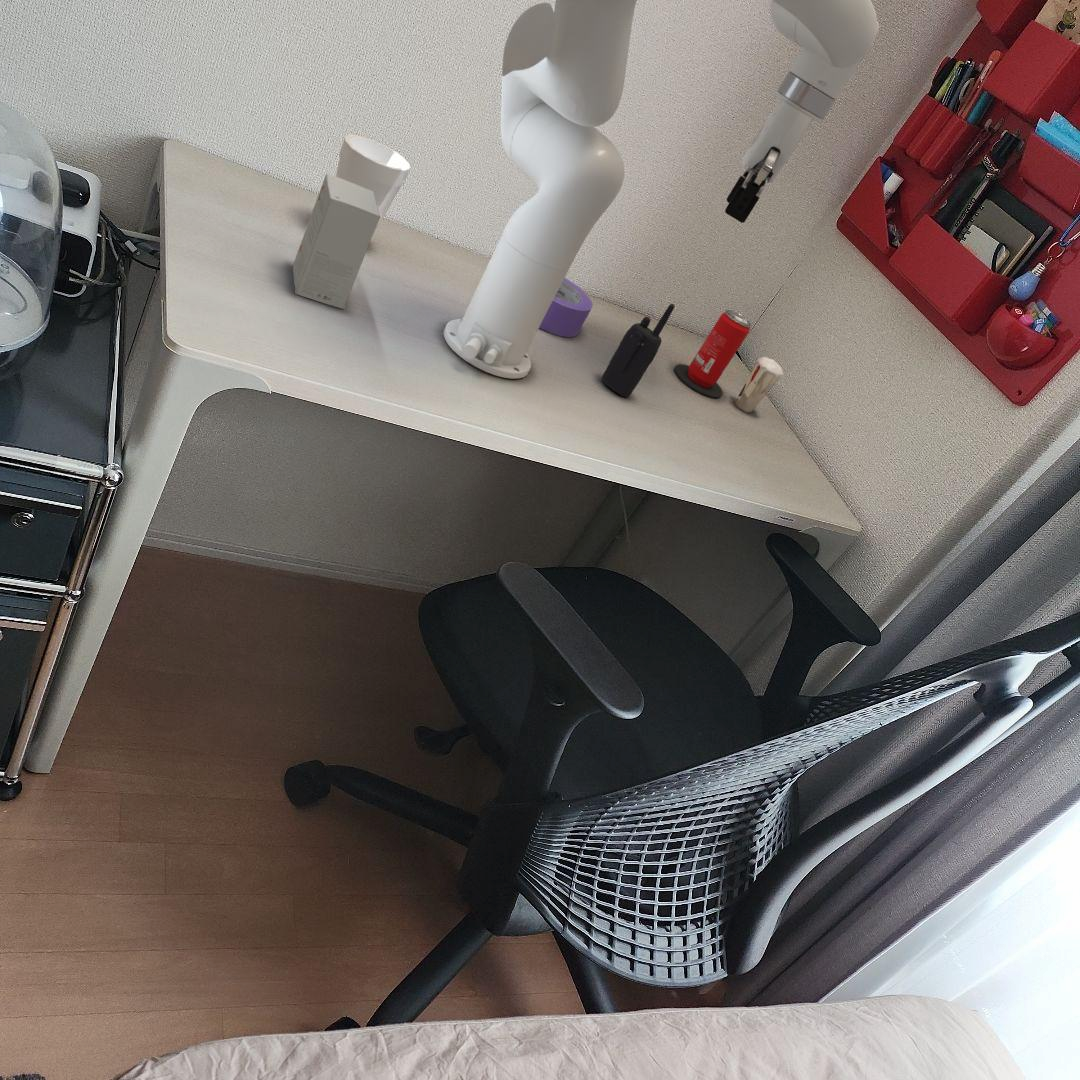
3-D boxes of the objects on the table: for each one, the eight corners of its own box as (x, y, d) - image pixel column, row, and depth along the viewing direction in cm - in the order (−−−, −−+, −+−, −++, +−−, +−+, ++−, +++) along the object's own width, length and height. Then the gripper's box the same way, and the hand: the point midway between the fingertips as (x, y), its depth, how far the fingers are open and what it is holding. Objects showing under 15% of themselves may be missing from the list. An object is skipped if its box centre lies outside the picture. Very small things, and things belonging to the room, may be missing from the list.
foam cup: (388, 252, 147) (422, 170, 140) (350, 257, 139) (384, 170, 132) (340, 218, 149) (371, 135, 142) (300, 221, 141) (331, 133, 134)
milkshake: (759, 421, 164) (794, 371, 159) (731, 406, 164) (765, 355, 158) (758, 410, 168) (792, 361, 163) (730, 395, 167) (764, 345, 162)
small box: (343, 310, 125) (381, 216, 119) (294, 294, 123) (329, 197, 116) (339, 281, 131) (374, 190, 125) (291, 265, 129) (325, 171, 122)
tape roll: (567, 345, 151) (583, 316, 149) (501, 305, 151) (515, 276, 149) (585, 325, 161) (600, 298, 159) (523, 288, 161) (536, 260, 159)
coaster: (720, 405, 162) (721, 403, 161) (671, 378, 161) (673, 376, 161) (722, 385, 169) (723, 384, 169) (676, 359, 169) (677, 357, 168)
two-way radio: (634, 398, 147) (686, 310, 139) (618, 401, 144) (672, 311, 136) (606, 376, 149) (657, 288, 141) (591, 378, 145) (642, 289, 138)
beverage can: (682, 367, 166) (720, 304, 160) (708, 378, 168) (747, 316, 162) (689, 382, 162) (729, 318, 156) (715, 393, 164) (756, 331, 158)
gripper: (779, 80, 144) (714, 189, 153) (782, 88, 129) (709, 208, 138) (823, 107, 145) (756, 214, 153) (831, 119, 130) (756, 236, 138)
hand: (734, 211), depth 145 cm, fingers open, 9 cm apart
